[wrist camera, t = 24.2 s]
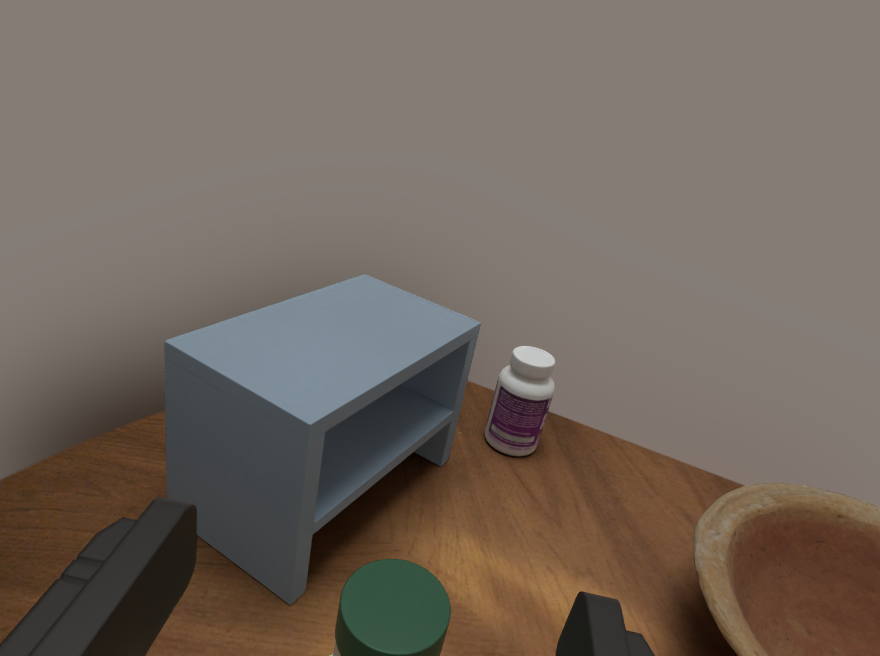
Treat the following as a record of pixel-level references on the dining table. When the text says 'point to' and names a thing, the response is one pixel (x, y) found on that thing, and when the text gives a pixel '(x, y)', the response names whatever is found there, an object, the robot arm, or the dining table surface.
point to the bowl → (791, 571)
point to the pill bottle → (521, 402)
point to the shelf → (307, 415)
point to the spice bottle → (392, 611)
